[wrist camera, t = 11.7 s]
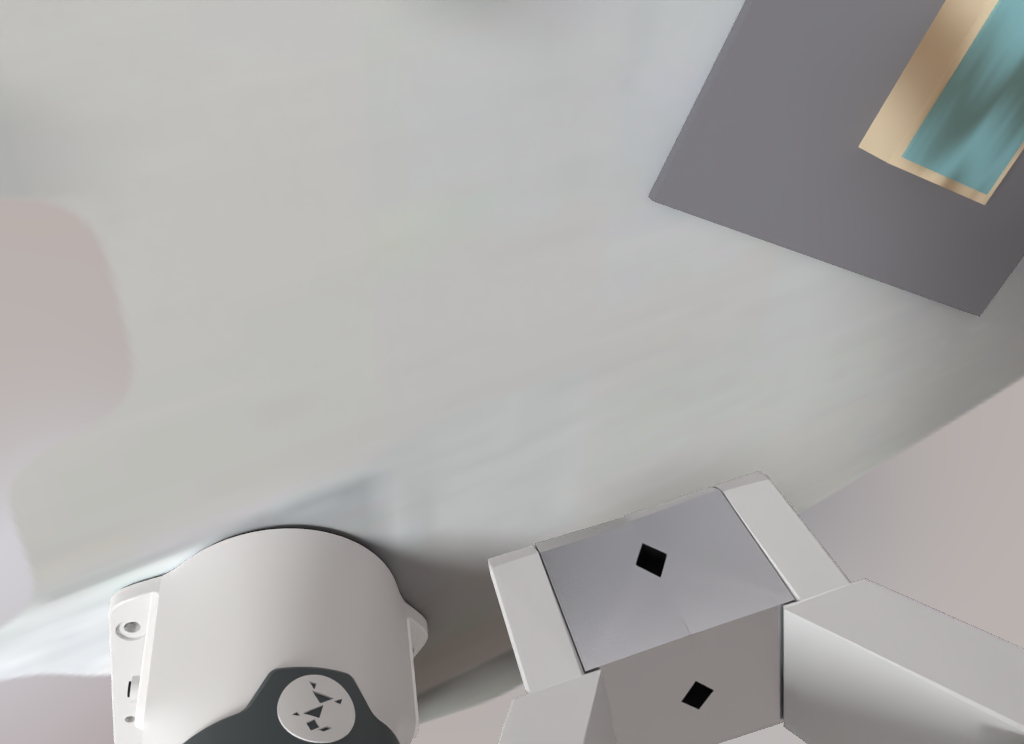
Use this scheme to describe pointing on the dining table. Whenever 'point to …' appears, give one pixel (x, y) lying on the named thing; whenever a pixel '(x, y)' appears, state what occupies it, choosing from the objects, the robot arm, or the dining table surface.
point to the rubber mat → (835, 153)
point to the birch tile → (959, 100)
